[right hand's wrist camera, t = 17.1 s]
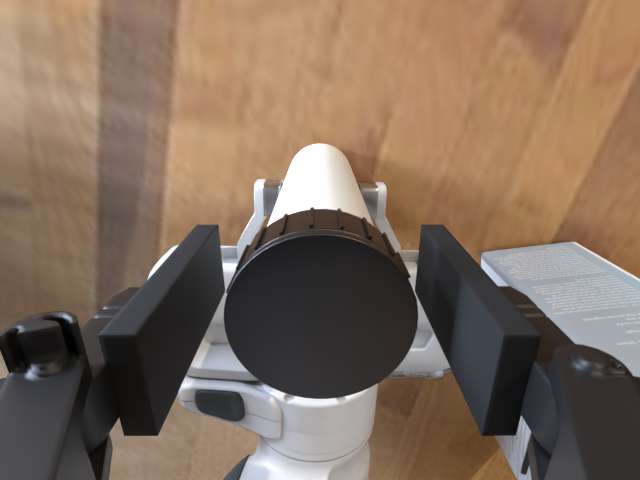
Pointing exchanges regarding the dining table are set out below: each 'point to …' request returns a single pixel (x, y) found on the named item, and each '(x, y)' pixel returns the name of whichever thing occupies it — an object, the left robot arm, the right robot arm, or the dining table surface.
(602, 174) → the dining table surface
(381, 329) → the lid
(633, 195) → the dining table surface
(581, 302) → the hard drive box
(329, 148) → the white tube
